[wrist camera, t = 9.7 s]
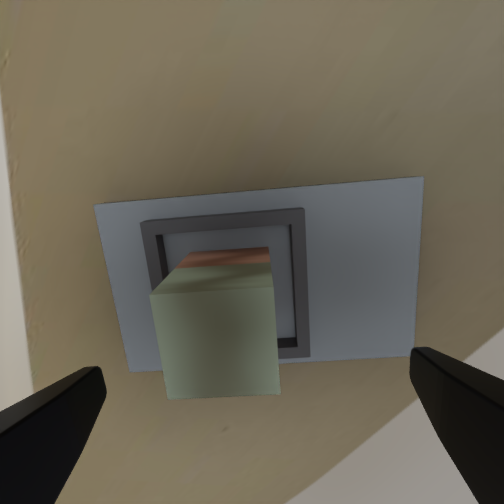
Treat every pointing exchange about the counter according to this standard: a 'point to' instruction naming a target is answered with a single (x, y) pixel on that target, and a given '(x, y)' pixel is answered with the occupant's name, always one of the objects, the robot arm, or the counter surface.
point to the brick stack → (218, 325)
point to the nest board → (282, 262)
